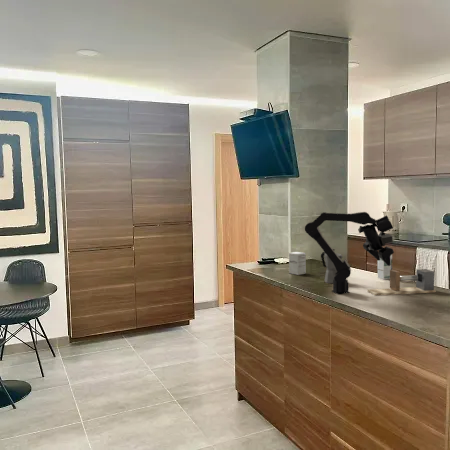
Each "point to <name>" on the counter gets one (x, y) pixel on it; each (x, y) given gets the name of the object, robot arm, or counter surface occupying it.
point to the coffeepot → (329, 267)
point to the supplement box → (297, 263)
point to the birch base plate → (402, 291)
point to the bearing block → (425, 279)
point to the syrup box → (384, 269)
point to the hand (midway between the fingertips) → (384, 262)
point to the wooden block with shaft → (399, 279)
